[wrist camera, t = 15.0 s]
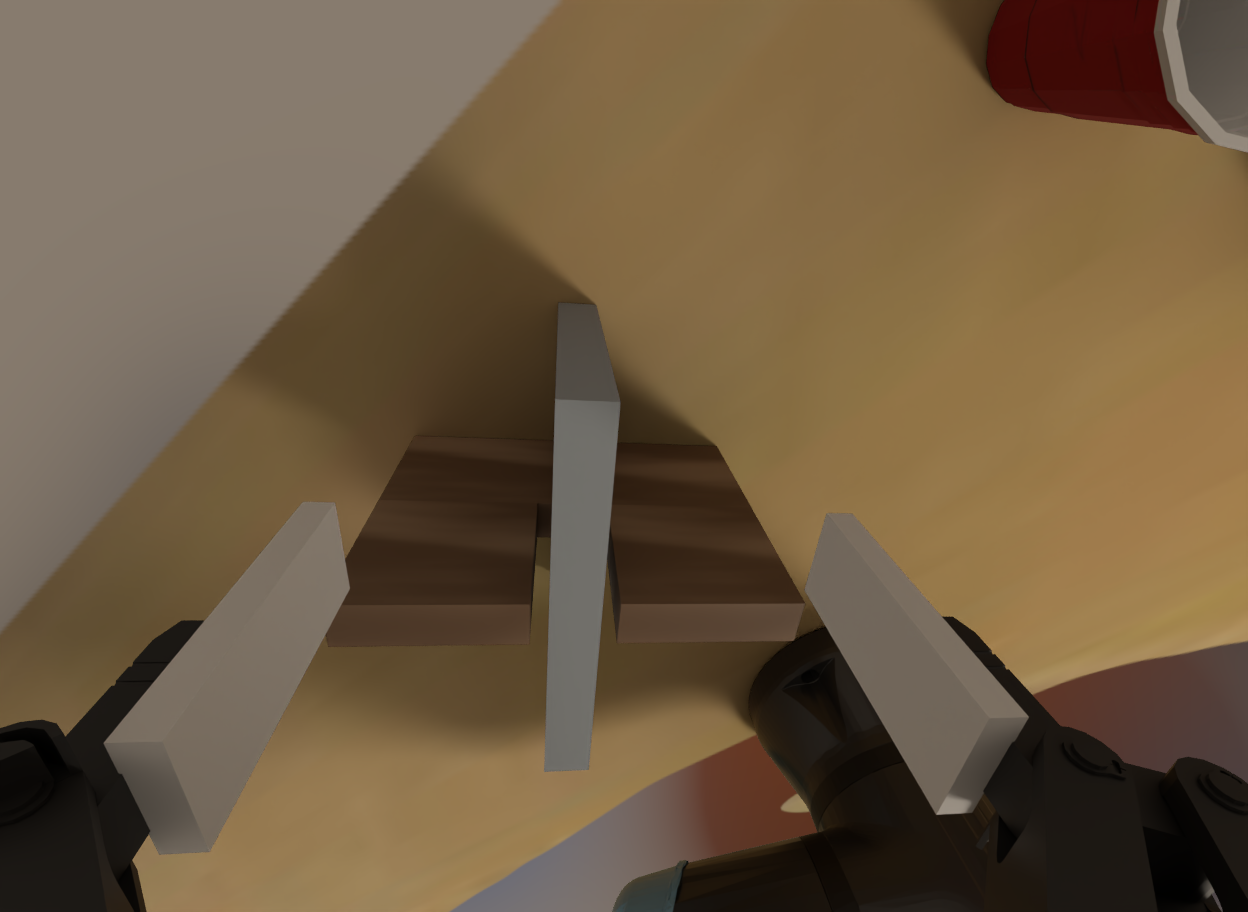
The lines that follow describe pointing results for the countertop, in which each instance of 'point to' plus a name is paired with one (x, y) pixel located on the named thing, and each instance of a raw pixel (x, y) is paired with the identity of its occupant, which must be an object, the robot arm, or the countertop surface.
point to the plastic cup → (1128, 63)
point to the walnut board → (522, 511)
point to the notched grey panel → (578, 530)
